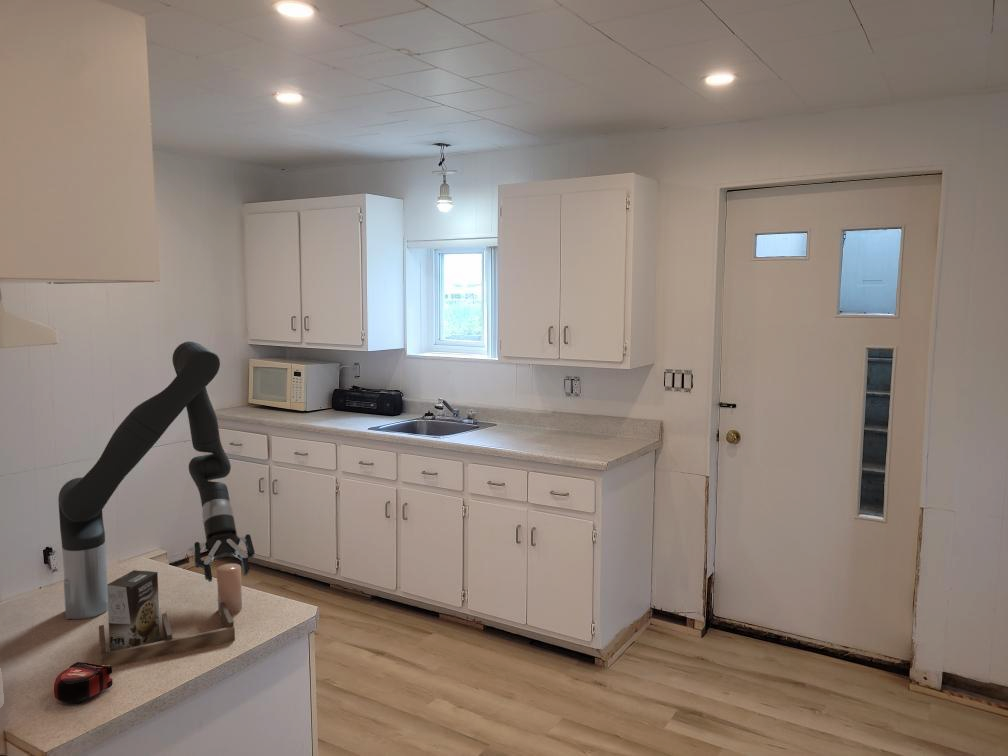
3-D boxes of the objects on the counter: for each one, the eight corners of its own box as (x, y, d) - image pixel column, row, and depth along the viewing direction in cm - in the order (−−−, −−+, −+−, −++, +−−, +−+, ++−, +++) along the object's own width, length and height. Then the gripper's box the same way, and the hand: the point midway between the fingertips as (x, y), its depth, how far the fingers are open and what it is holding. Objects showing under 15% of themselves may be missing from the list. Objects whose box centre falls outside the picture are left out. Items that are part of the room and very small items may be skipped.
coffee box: (134, 657, 163) (131, 587, 161) (108, 654, 164) (105, 584, 162) (161, 638, 172) (158, 571, 170) (136, 635, 173) (133, 568, 171)
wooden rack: (101, 668, 158) (101, 650, 157) (99, 642, 169) (98, 625, 169) (234, 640, 171) (234, 623, 171) (224, 617, 183) (224, 602, 182)
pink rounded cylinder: (220, 616, 183) (219, 573, 182) (216, 607, 188) (215, 565, 187) (244, 611, 186) (242, 569, 185) (239, 603, 191) (238, 562, 189)
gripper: (190, 517, 190) (199, 576, 182) (248, 509, 197) (259, 565, 189) (188, 531, 195) (196, 588, 187) (245, 523, 202) (255, 578, 194)
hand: (228, 577), depth 188 cm, fingers open, 8 cm apart
